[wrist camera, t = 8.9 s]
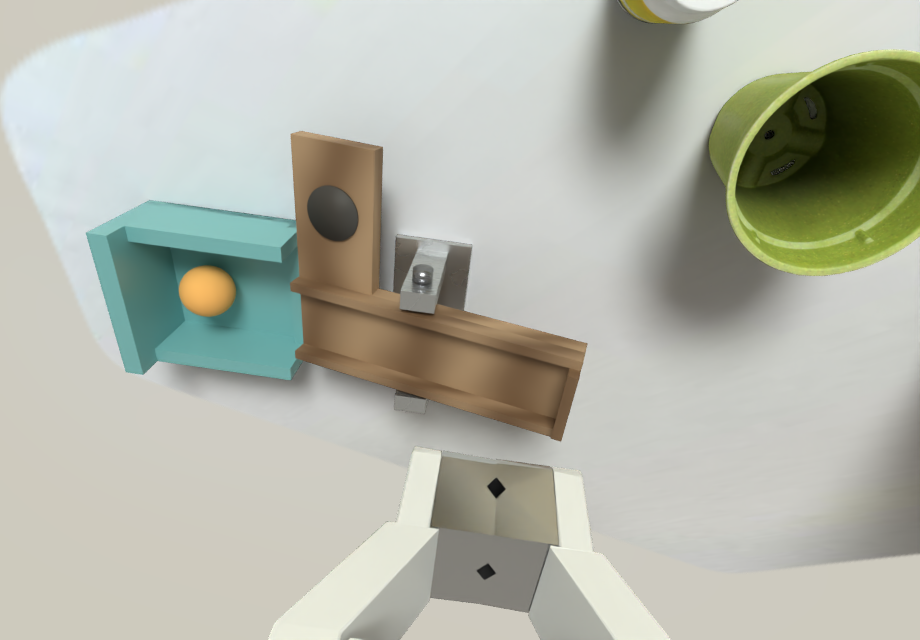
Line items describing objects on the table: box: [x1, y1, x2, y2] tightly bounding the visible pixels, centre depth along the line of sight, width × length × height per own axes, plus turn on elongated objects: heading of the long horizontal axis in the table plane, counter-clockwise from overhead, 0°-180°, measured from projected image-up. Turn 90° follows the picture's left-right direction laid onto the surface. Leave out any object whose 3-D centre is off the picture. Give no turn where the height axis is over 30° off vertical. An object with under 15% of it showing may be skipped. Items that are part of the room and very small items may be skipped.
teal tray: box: [86, 200, 303, 380], centre depth 34 cm, size 11×10×6 cm
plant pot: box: [709, 49, 920, 276], centre depth 25 cm, size 9×9×9 cm
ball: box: [179, 265, 236, 317], centre depth 35 cm, size 4×4×4 cm
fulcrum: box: [393, 234, 472, 414], centre depth 34 cm, size 5×10×6 cm, turn 174°
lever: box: [290, 131, 587, 441], centre depth 29 cm, size 18×14×3 cm
